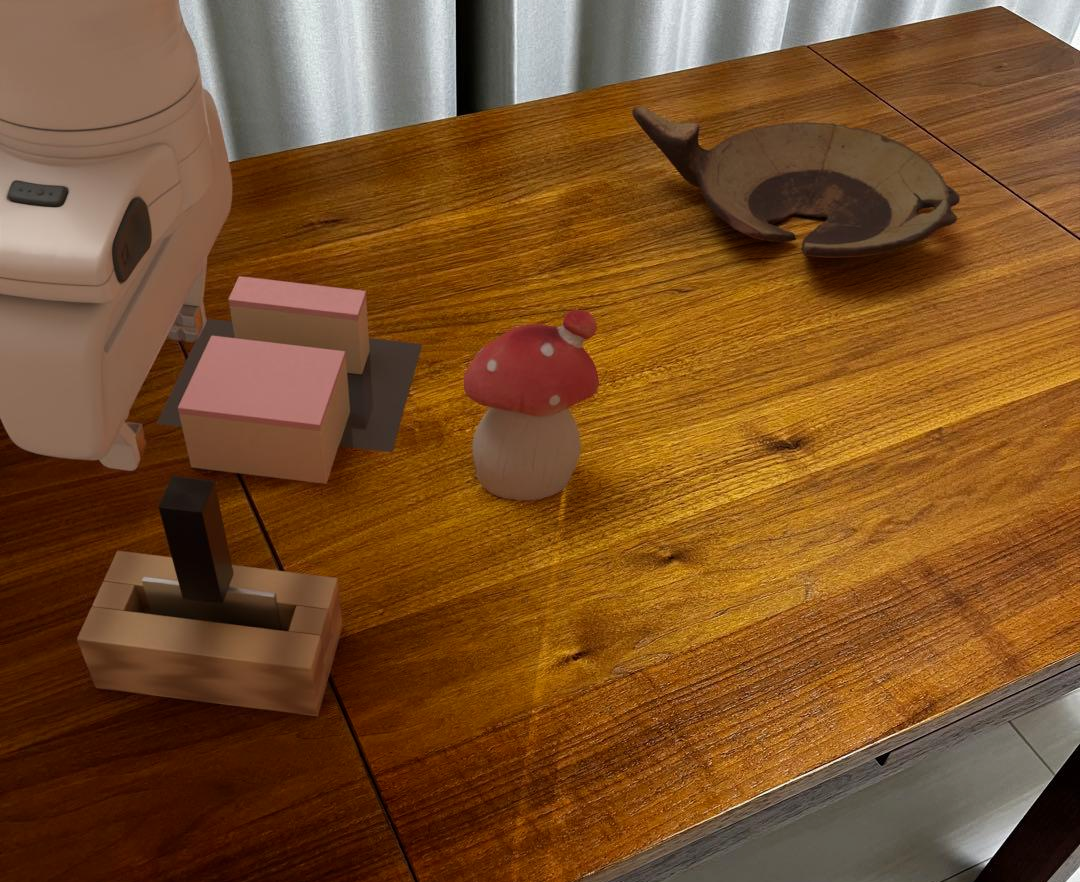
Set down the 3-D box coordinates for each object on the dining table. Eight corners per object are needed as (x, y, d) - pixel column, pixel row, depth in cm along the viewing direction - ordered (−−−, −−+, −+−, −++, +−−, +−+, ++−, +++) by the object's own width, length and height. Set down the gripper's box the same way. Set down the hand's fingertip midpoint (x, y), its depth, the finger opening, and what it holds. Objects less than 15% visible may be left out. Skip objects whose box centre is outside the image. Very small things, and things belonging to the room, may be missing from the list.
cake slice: (238, 360, 95) (227, 299, 91) (248, 336, 97) (238, 275, 93) (362, 375, 95) (357, 314, 90) (369, 351, 97) (366, 290, 92)
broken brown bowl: (869, 332, 103) (894, 258, 98) (595, 196, 115) (603, 123, 109) (980, 225, 116) (1008, 154, 110) (722, 112, 127) (735, 42, 121)
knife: (157, 663, 75) (106, 500, 64) (169, 633, 77) (121, 469, 66) (282, 679, 75) (253, 518, 64) (291, 648, 77) (264, 486, 65)
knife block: (98, 696, 75) (75, 639, 70) (135, 609, 79) (117, 550, 75) (319, 724, 74) (310, 669, 70) (343, 635, 79) (337, 577, 74)
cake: (191, 468, 87) (177, 407, 82) (222, 396, 92) (211, 335, 88) (326, 485, 87) (320, 424, 82) (350, 411, 92) (345, 350, 87)
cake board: (134, 479, 87) (132, 471, 86) (207, 325, 99) (206, 318, 98) (378, 509, 86) (378, 501, 86) (422, 351, 98) (422, 343, 98)
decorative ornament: (587, 453, 91) (607, 294, 80) (585, 516, 87) (606, 357, 76) (466, 444, 91) (469, 283, 80) (458, 506, 87) (460, 346, 76)
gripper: (112, 15, 56) (162, 261, 66) (-89, 276, 42) (13, 534, 53) (245, 32, 56) (274, 275, 66) (86, 298, 42) (154, 552, 53)
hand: (157, 392), depth 59 cm, fingers open, 8 cm apart
